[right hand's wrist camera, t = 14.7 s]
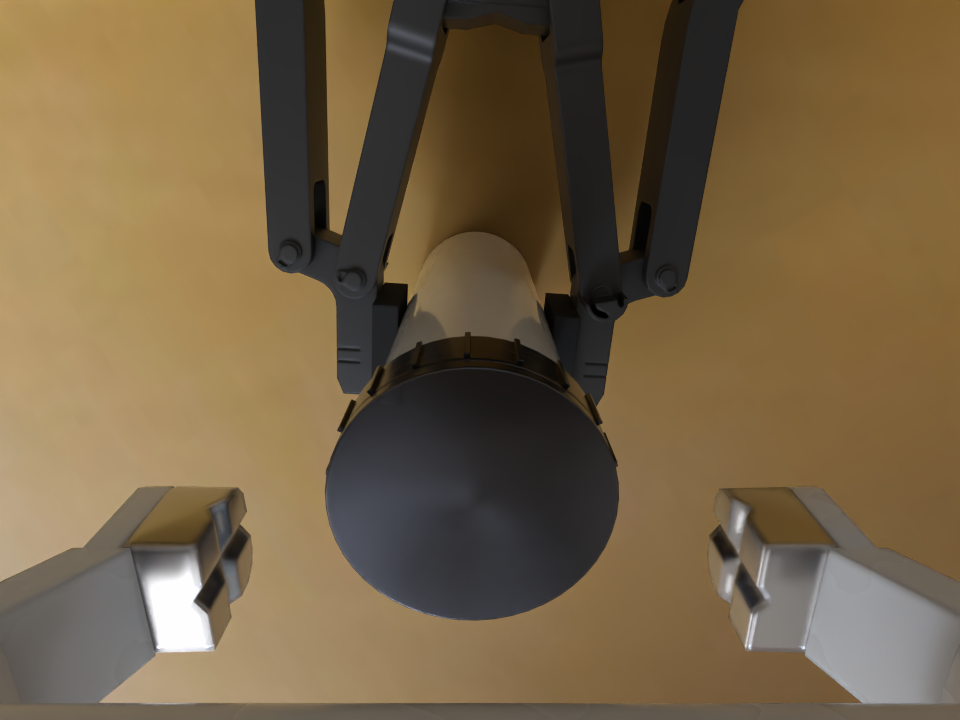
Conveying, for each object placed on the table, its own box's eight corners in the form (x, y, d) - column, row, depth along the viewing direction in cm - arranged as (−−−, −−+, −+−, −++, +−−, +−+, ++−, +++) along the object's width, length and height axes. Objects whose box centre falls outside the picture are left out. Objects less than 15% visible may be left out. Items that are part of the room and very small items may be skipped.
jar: (422, 343, 27) (358, 595, 12) (415, 233, 25) (332, 377, 11) (531, 340, 27) (594, 589, 12) (531, 229, 25) (602, 370, 11)
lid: (354, 569, 14) (339, 629, 12) (327, 334, 12) (304, 367, 10) (599, 562, 14) (616, 620, 12) (608, 326, 12) (629, 357, 10)
